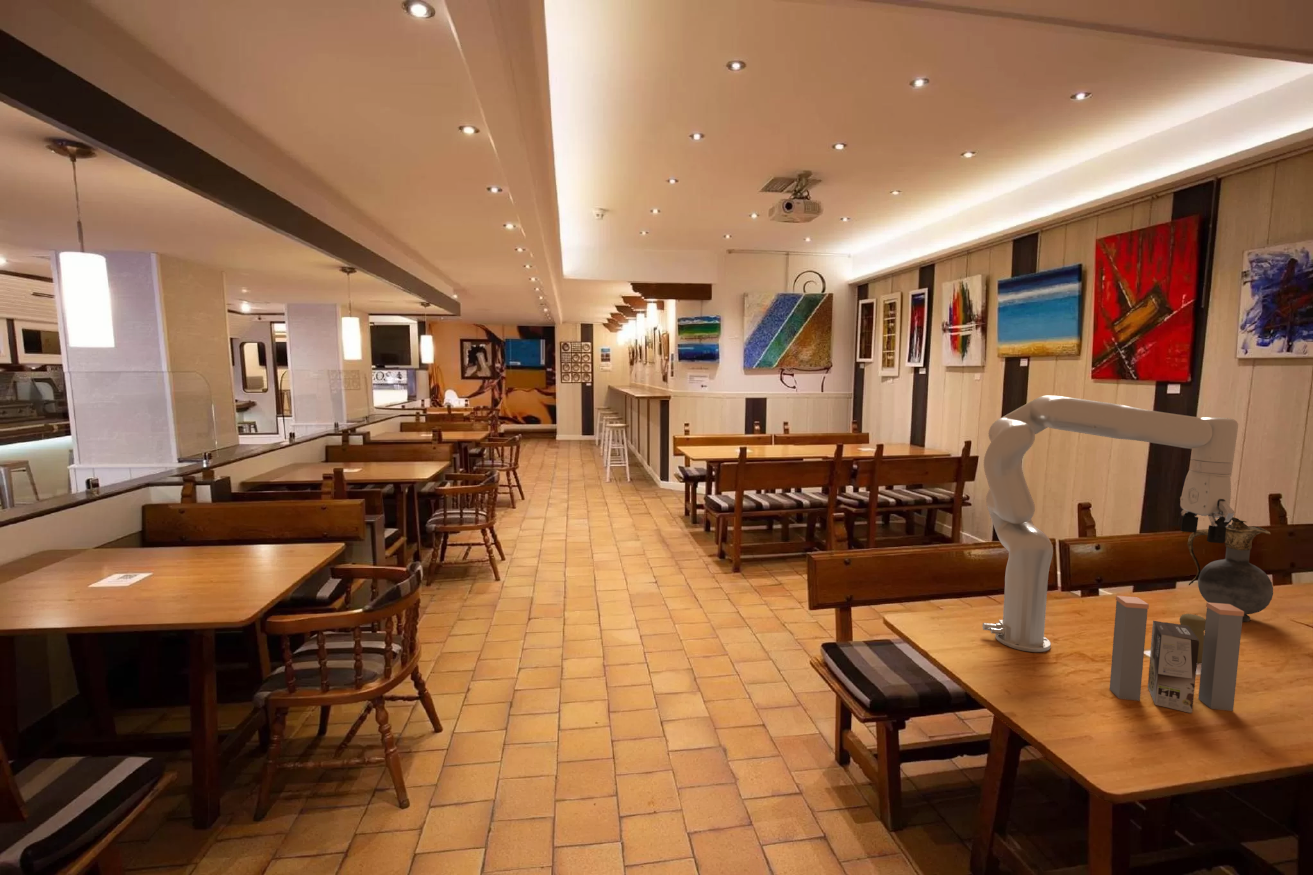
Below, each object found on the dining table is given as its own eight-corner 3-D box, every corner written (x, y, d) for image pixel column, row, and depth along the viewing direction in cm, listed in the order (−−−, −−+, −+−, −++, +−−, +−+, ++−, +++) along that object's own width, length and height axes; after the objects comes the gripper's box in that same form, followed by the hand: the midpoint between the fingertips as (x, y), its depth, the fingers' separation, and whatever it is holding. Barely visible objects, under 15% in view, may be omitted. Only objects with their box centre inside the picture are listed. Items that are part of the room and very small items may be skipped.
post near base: (1118, 698, 129) (1126, 602, 126) (1108, 688, 133) (1116, 595, 131) (1140, 701, 128) (1148, 604, 126) (1130, 691, 132) (1137, 597, 130)
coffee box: (1193, 714, 123) (1200, 640, 121) (1154, 705, 126) (1160, 633, 124) (1183, 694, 130) (1190, 625, 129) (1146, 686, 134) (1152, 618, 132)
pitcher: (1263, 630, 163) (1274, 525, 160) (1175, 607, 179) (1184, 512, 176) (1274, 621, 169) (1285, 520, 166) (1188, 600, 185) (1197, 508, 182)
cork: (1212, 664, 144) (1216, 621, 143) (1184, 662, 145) (1188, 619, 144) (1195, 653, 150) (1199, 612, 149) (1168, 651, 151) (1172, 610, 150)
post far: (1210, 708, 125) (1220, 609, 122) (1197, 698, 129) (1206, 602, 127) (1234, 711, 124) (1244, 611, 121) (1220, 700, 128) (1229, 604, 126)
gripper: (1170, 462, 150) (1161, 526, 152) (1217, 473, 133) (1207, 545, 135) (1204, 464, 149) (1195, 529, 150) (1256, 475, 132) (1246, 548, 134)
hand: (1201, 536), depth 143 cm, fingers open, 9 cm apart
